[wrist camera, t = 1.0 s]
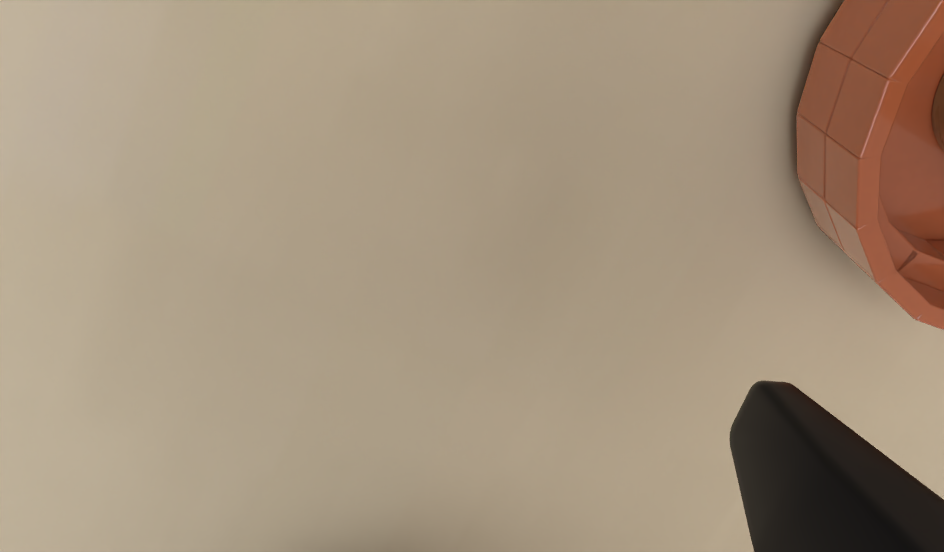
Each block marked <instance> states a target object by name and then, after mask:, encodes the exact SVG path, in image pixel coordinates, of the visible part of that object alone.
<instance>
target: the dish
mask: <svg viewBox="0 0 944 552" xmlns="http://www.w3.org/2000/svg"><path fill="white" fill-rule="evenodd" d="M943 74H944V0H844V1H843V3H842V4H841V6H840V8H839V9H838V11H837V12H836V14H835V16H834V17H833V19H832V20H831V22H830V24H829V25H828V27H827V29H826V30H825V32H824V33H823V35H822V37H821V38H820V43H818V44H817V48H816V51H815V54H814V57H813V61H812V64H811V67H810V70H809V74H808V77H807V80H806V84H805V87H804V90H803V93H802V97H801V100H800V103H799V106H798V110H797V112H798V113H797V175H798V179H799V182H800V184H801V187H802V189H803V192H804V194H805V197H806V199H807V201H808V204H809V206H810V209H811V211H812V214H813V216H814V219H815V221H816V224H817V225H818V226H819V228H820V229H821V230H822V231H823V232H824V233H825V234H826V235H827V236H828V237H829V238H830V239H831V240H832V241H833V242H834V243H835V244H836V245H837V246H838V247H839V248H840V249H841V250H842V251H843V252H844V253H845V254H847V255H848V256H849V257H850V258H851V259H852V260H853V261H854V262H855V263H856V264H857V265H858V266H859V267H860V268H861V269H862V270H863V271H864V272H865V273H866V274H867V275H868V276H869V277H870V278H871V279H872V280H873V281H874V282H875V283H877V284H878V285H879V286H880V287H881V288H882V289H883V290H884V291H885V292H886V293H887V294H888V295H889V296H890V297H891V298H892V299H893V300H894V301H895V302H896V303H898V304H899V305H900V306H901V307H902V308H903V309H904V310H905V311H906V312H907V313H908V314H909V315H910V316H911V317H912V318H913V319H915V320H917V321H920V322H923V323H926V324H929V325H931V326H934V327H937V328H940V329H943V330H944V151H943V150H942V148H941V147H940V145H939V144H938V142H937V139H936V137H935V134H934V130H933V125H932V108H933V102H934V97H935V94H936V91H937V88H938V85H939V83H940V81H941V79H942V76H943Z"/></svg>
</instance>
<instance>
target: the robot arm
mask: <svg viewBox="0 0 944 552" xmlns="http://www.w3.org/2000/svg"><path fill="white" fill-rule="evenodd" d="M730 447H731V451H732V456H733V460H734V465H735V469H736V474H737V478H738V483H739V487H740V491H741V496H742V500H743V505H744V509H745V514H746V518H747V523H748V527H749V532H750V536H751V540H752V544H753V548H754V552H944V500H943V499H942V498H941V497H939V496H938V495H937V494H935V493H934V492H933V491H931V490H930V489H929V488H927V487H926V486H925V485H923V484H922V483H921V482H920V481H918V480H917V479H916V478H914V477H913V476H912V475H910V474H909V473H908V472H906V471H905V470H904V469H903V468H901V467H900V466H899V465H897V464H896V463H895V462H893V461H892V460H891V459H889V458H888V457H887V456H885V455H884V454H883V453H882V452H880V451H879V450H878V449H876V448H875V447H874V446H872V445H871V444H870V443H868V442H867V441H866V440H865V439H863V438H862V437H861V436H859V435H858V434H857V433H855V432H854V431H853V430H851V429H850V428H849V427H847V426H846V425H845V424H844V423H842V422H841V421H840V420H838V419H837V418H836V417H834V416H833V415H832V414H830V413H829V412H828V411H826V410H825V409H824V408H823V407H821V406H820V405H819V404H817V403H816V402H815V401H813V400H812V399H811V398H809V397H808V396H807V395H806V394H804V393H803V392H802V391H800V390H799V389H798V388H796V387H795V386H794V385H792V384H790V383H786V382H775V381H759V382H756V383H755V384H754V385H753V386H752V387H751V389H750V390H749V392H748V394H747V396H746V398H745V400H744V402H743V404H742V406H741V408H740V410H739V412H738V414H737V416H736V418H735V420H734V422H733V424H732V427H731V431H730Z"/></svg>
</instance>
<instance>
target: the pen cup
mask: <svg viewBox="0 0 944 552" xmlns="http://www.w3.org/2000/svg"><path fill="white" fill-rule="evenodd" d="M932 125H933V130H934V134H935V137H936V139H937V142H938V144H939V145H940V147H941V148H942V150H943V151H944V74H943V76H942V79H941V81H940V83H939V85H938V88H937V91H936V94H935V97H934V102H933V108H932Z"/></svg>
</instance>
